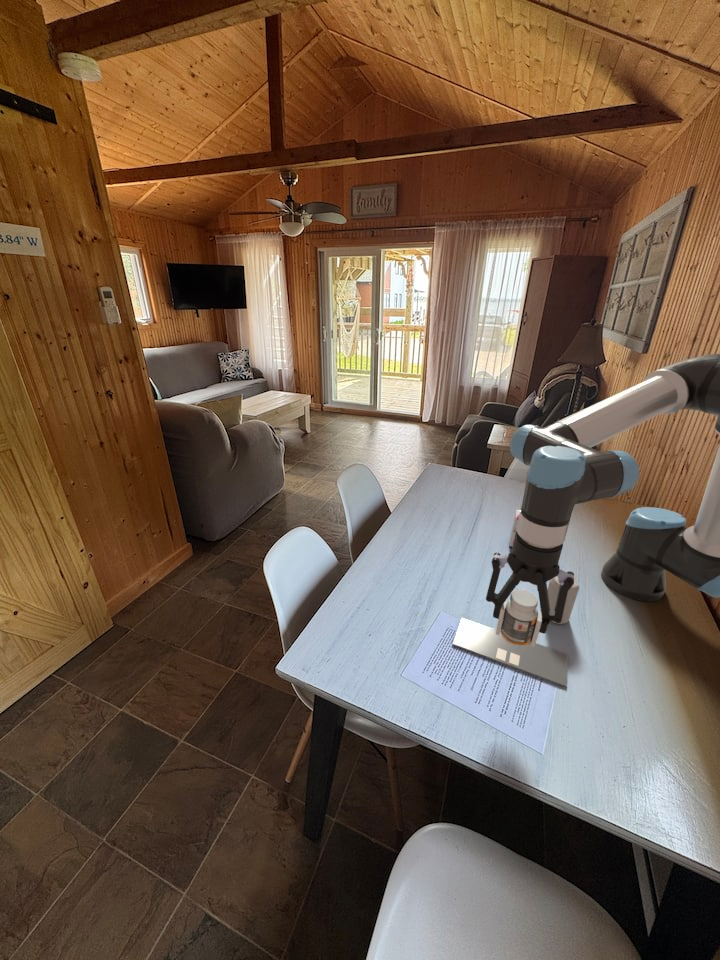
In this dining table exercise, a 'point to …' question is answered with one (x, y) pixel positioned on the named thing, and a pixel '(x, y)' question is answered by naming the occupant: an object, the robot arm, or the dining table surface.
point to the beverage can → (570, 599)
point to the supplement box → (514, 528)
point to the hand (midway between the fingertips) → (515, 635)
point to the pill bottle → (520, 618)
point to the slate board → (512, 652)
